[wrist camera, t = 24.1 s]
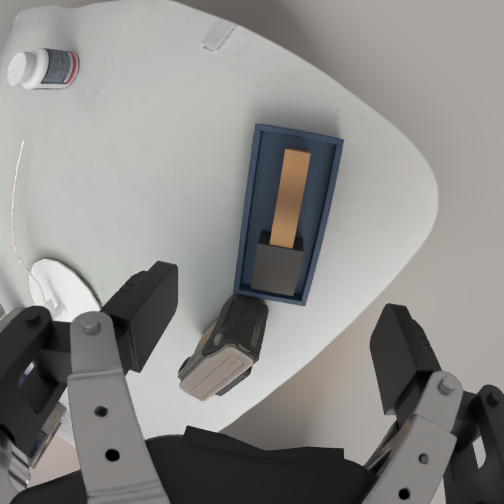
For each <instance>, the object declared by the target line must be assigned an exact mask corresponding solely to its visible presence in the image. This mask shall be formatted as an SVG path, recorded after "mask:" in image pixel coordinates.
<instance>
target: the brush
mask: <svg viewBox="0 0 504 504" xmlns="http://www.w3.org/2000/svg"><path fill="white" fill-rule="evenodd" d="M310 155H311V153H310V152H309V151H308V150H303V149H298V148H292V147H286V149H285V154H284V160H283V167H282V173H281V179H280V185H279V191H278V197H277V203H276V209H275V215H274V221H273V226H272V232H268V231H263V230H262V231H261V234H260V237H259V241H258V244H257V250H256V256H255V263H254V269H253V276H252V282H251V288H252V289H258V290H263V291H268V292H274V293H279V294H285V295H290V296H293V295H294V291H295V287H296V283H297V279H298V275H299V271H300V266H301V262H302V258H303V253H304V247H303V238H301V237H296V236H295V234H296V229H297V224H298V219H299V214H300V209H301V204H302V199H303V194H304V188H305V183H306V178H307V172H308V167H309V161H310Z"/></svg>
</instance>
